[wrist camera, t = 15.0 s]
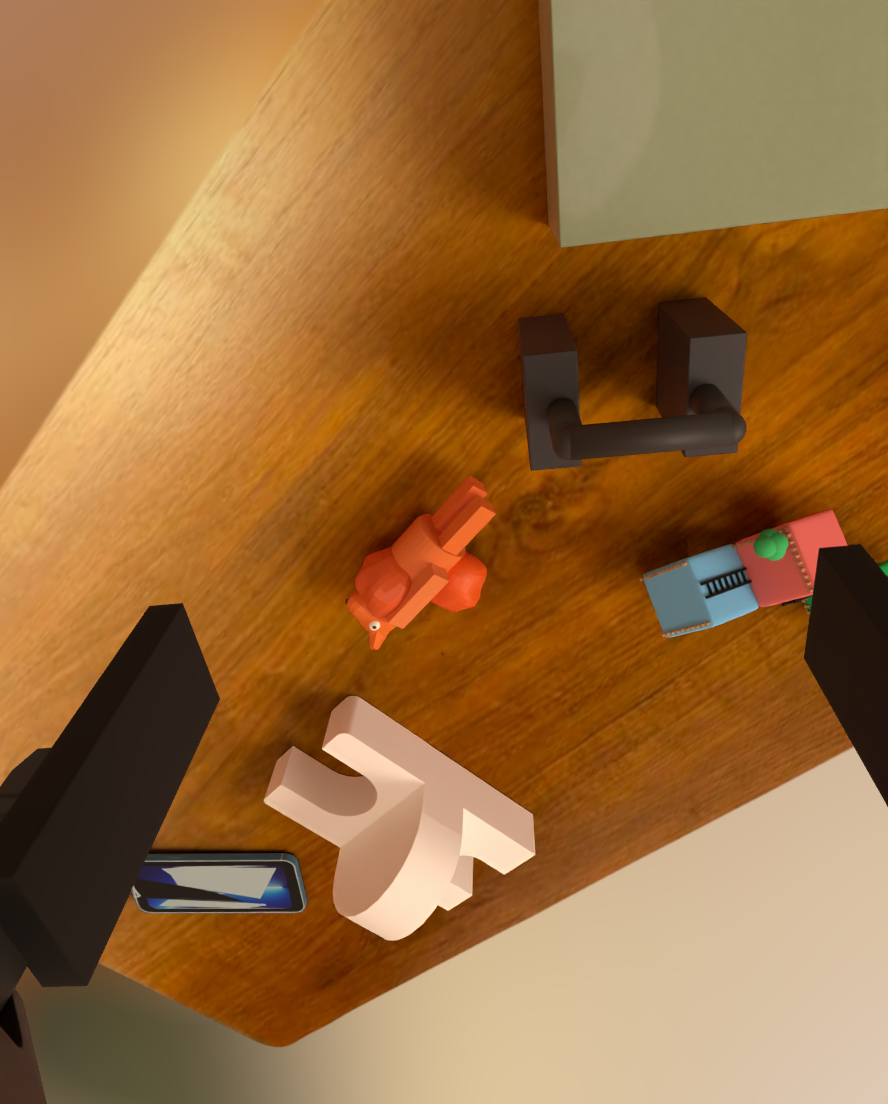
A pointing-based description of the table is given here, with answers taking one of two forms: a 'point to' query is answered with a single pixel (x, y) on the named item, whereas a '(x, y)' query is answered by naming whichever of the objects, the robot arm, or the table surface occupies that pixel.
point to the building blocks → (743, 575)
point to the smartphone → (220, 883)
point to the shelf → (711, 113)
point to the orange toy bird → (424, 566)
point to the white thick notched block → (398, 820)
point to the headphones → (682, 395)
